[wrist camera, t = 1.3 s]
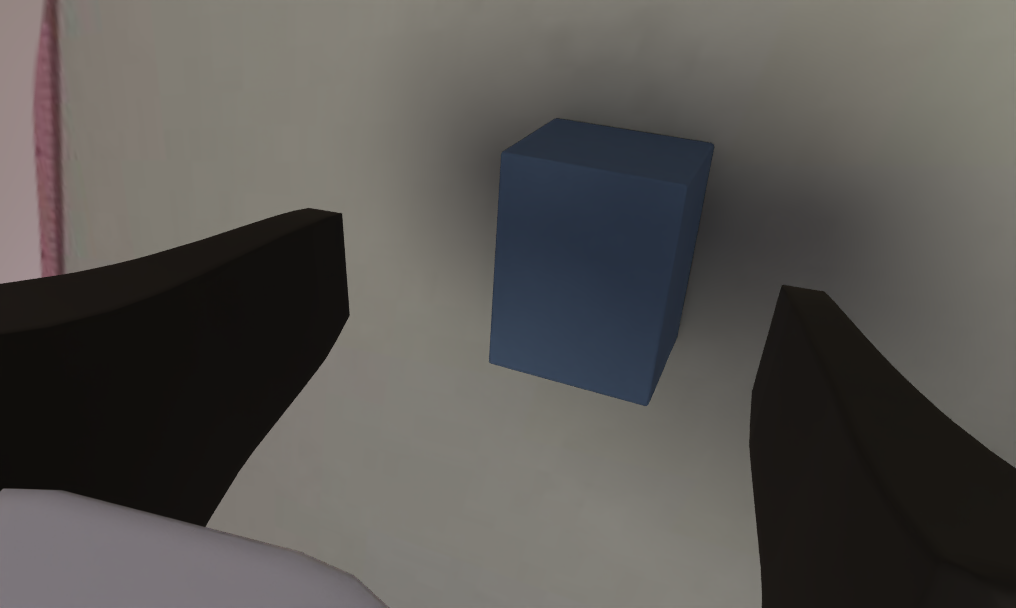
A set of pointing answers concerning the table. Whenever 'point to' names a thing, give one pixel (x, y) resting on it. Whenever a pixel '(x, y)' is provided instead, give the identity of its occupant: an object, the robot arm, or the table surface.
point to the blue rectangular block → (595, 254)
